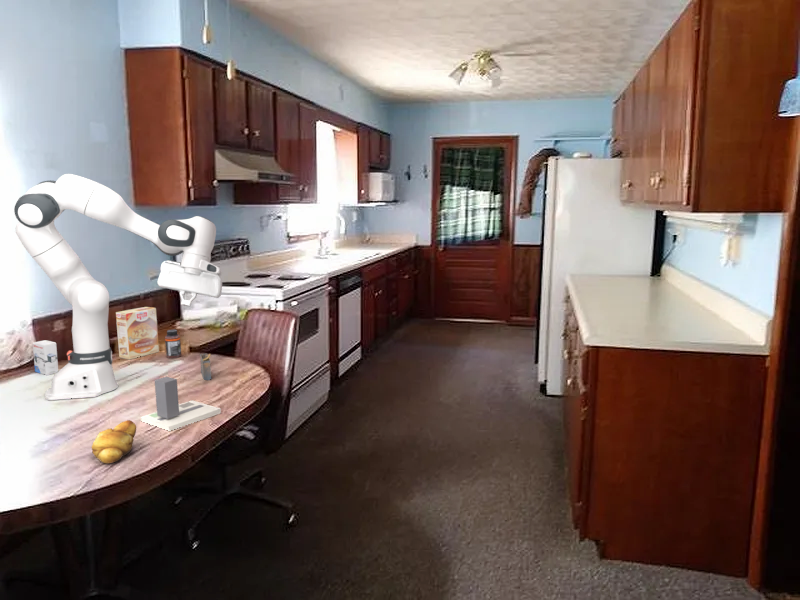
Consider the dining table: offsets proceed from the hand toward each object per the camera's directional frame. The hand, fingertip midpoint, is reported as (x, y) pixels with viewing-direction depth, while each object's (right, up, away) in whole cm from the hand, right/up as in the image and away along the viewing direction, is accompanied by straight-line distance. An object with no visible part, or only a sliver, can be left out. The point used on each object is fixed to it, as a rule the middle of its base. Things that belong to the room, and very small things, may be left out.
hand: (185, 305), depth 199 cm
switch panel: (+4, -34, -16) cm, 37 cm away
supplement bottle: (-24, -22, +55) cm, 64 cm away
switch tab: (+2, -32, -20) cm, 38 cm away
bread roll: (-4, -39, -43) cm, 58 cm away
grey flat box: (-2, -27, +27) cm, 38 cm away
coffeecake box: (-40, -22, +59) cm, 74 cm away
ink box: (-65, -26, +34) cm, 78 cm away
